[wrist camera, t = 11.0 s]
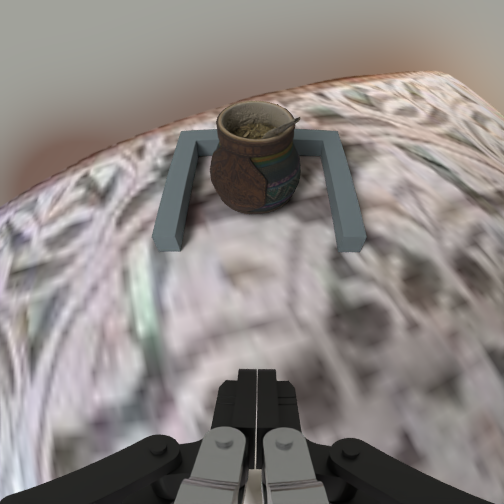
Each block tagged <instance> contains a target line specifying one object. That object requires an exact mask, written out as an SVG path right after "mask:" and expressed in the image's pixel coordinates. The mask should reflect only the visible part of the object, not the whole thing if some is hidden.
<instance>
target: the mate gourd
mask: <svg viewBox="0 0 504 504" xmlns="http://www.w3.org/2000/svg"><path fill="white" fill-rule="evenodd" d="M299 120H300V117H299V118H296V119H294V117H293V116H292V114H291V113H290V112H289V111H288V110H287V109H285V108H283V107H281V106H279V105H278V104H277V105H276V104H274V103H270V102H264V101H245V102H240V103H236V104H233V105H231V106H229V107H227V108H225V109H224V110H223V111H222V112H221V113H220V114H219V116H218V117H217V121H216V124H217V134H218V138H219V143H218V145H217V148H216V150H215V151H214V152H213V156H212V160H211V166H210V174H211V181H212V183H213V186H214V188H215V189H216V191H217V193H218V194H219V196H220V197H221V199H222V201H223V202H224V203H225V204H226V205H227V206H229V207H230V208H231V209H233V210H235V211H238V212H241V213H245V214H261V213H268V212H271V211H274V210H276V209H278V208H280V207H282V206H283V205H285V204H286V203H287V202H288V201H289V199H290V198H291V196H292V194H293V192H294V191H295V189H296V187H297V185H298V182H299V179H300V172H301V171H300V161H299V156H298V153H297V150H296V148H295V146H294V143H293V138H294V129H295V123H297V122H298V121H299Z"/></svg>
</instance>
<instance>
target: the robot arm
mask: <svg viewBox="0 0 504 504" xmlns="http://www.w3.org/2000/svg"><path fill="white" fill-rule="evenodd" d="M256 381H257V369H239V372H238V381H233V380H226V381H225V382H224V383H223V384H222V385H221V386H220V387H219V391H218V397H217V401H216V406H215V411H214V416H213V421H212V426H211V430H210V431H208V432H207V433H206V434H205V435H204V438H203V439H202V440H199V441H197V442H193V443H186V444H178V442H177V441H176V440H175V439H173V438H172V437H170V436H166V435H152V436H149V437H146V438H144V439H142V440H141V441H139V442H137V443H135V444H133V445H131V446H129V447H127V448H125V449H123V450H121V451H118V452H116V453H114V454H112V455H110V456H108V457H106V458H104V459H101V460H99V461H97V462H95V463H93V464H90V465H88V466H86V467H84V468H81V469H79V470H77V471H74V472H72V473H69V474H67V475H64V476H62V477H59V478H57V479H54V480H52V481H49V482H46V483H44V484H41V485H38V486H36V487H33V488H30V489H27V490H24V491H21V492H18V493H15V494H12V495H9V496H6V497H5V498H3V499H2V500H1V501H0V504H244V498H245V492H246V484H247V481H248V473H249V469H254V465H255V432H256ZM256 469H262V483H261V488H262V498H263V504H494V503H491V502H489V501H486V500H483V499H481V498H478V497H476V496H473V495H471V494H469V493H466V492H464V491H461V490H459V489H457V488H455V487H452V486H450V485H448V484H446V483H443V482H441V481H439V480H437V479H435V478H433V477H431V476H428V475H426V474H424V473H422V472H420V471H418V470H416V469H414V468H412V467H410V466H408V465H406V464H404V463H402V462H401V461H399V460H397V459H395V458H393V457H391V456H389V455H387V454H386V453H384V452H382V451H380V450H378V449H376V448H375V447H373V446H371V445H369V444H368V443H366V442H364V441H362V440H359V439H355V438H345V439H341V440H338V441H337V442H335V443H334V444H333V445H332V446H326V445H320V444H316V443H313V442H311V441H309V440H308V439H306V438H305V437H304V435H303V434H302V432H301V427H300V420H299V413H298V406H297V399H296V393H295V388H294V387H293V385H292V384H291V383H290V382H289V381H277V379H276V369H258V402H257V454H256Z"/></svg>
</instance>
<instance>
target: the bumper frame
mask: <svg viewBox="0 0 504 504" xmlns="http://www.w3.org/2000/svg"><path fill="white" fill-rule="evenodd" d="M218 143H219V138H218V134H217V129H211V130H192V131H181V133H180V136H179V140H178V143H177V146H176V149H175V152H174V156H173V159H172V162H171V166H170V169H169V173H168V176H167V180H166V183H165V187H164V191H163V194H162V198H161V202H160V206H159V209H158V213H157V217H156V221H155V225H154V230H153V234H152V238H153V240H154V242H155V244H156V247H157V249H158V251H181V245H182V239H183V233H184V228H185V222H186V216H187V211H188V206H189V200H190V195H191V190H192V185H193V180H194V175H195V170H196V166H197V161H198V156H213V152H214V151H215V150H216V148H217V145H218ZM293 143H294V146H295V148H296V150H297V153H298V155H303V156H320V157H321V161H322V166H323V171H324V176H325V181H326V186H327V191H328V196H329V201H330V207H331V212H332V218H333V224H334V230H335V236H336V242H337V248H338V252H360V250H361V248H362V246H363V244H364V242H365V240H366V238H367V237H366V232H365V228H364V224H363V220H362V215H361V211H360V207H359V203H358V199H357V196H356V192H355V188H354V184H353V181H352V177H351V174H350V170H349V167H348V163H347V160H346V157H345V153H344V150H343V147H342V144H341V140H340V137H339V134H338V131H326V130H307V129H294V138H293Z"/></svg>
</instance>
